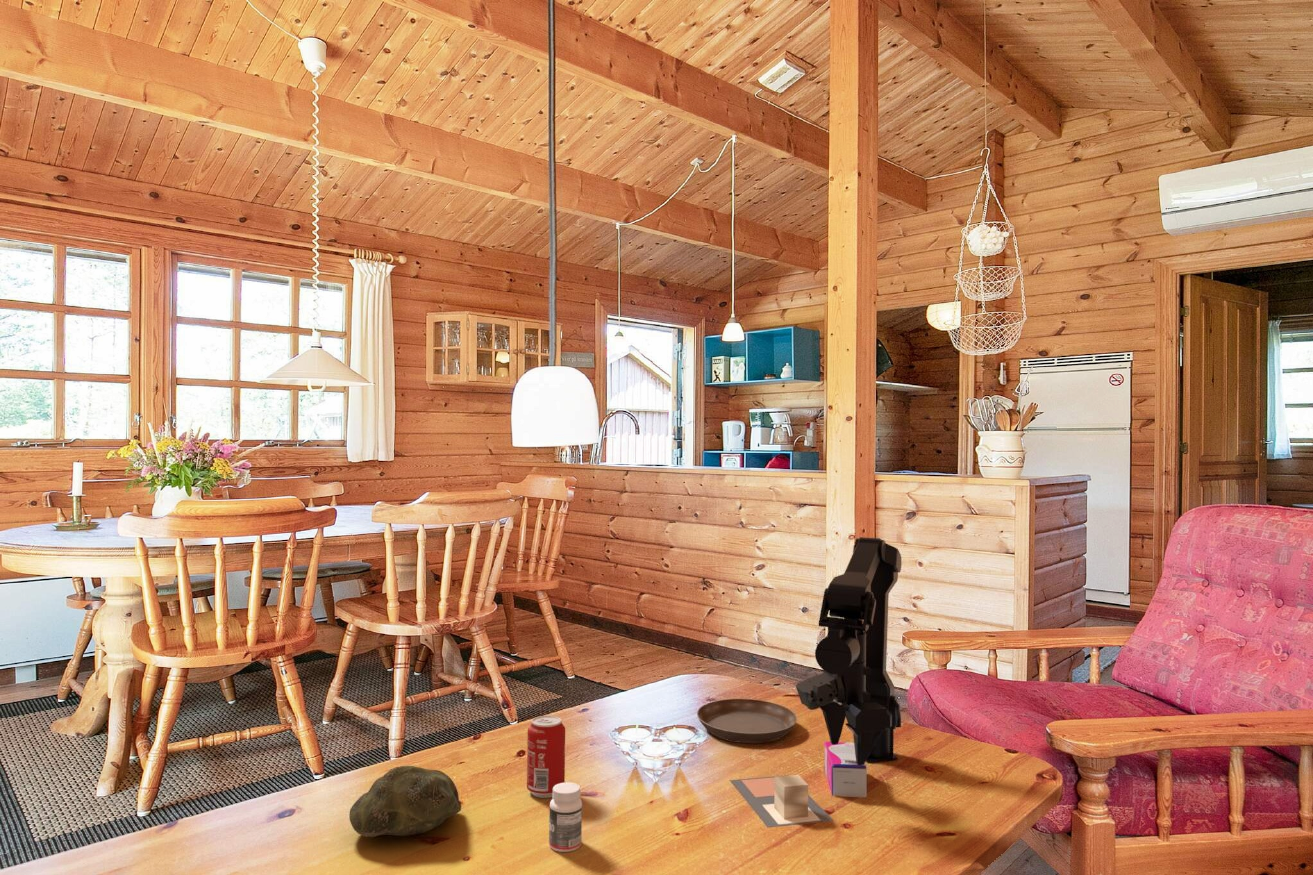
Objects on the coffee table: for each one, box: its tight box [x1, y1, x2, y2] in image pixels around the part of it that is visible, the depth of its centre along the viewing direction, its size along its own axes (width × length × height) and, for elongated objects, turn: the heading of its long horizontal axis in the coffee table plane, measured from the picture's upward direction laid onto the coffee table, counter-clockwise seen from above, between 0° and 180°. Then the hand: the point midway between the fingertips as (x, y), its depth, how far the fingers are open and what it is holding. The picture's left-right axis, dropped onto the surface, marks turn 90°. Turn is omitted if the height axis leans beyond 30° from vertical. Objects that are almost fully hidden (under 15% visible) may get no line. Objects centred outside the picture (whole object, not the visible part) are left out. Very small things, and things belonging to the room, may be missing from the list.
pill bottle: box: [548, 781, 583, 853], centre depth 119 cm, size 5×5×8 cm
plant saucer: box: [696, 698, 798, 744], centre depth 170 cm, size 21×21×3 cm
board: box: [729, 774, 835, 828], centre depth 134 cm, size 11×18×1 cm, turn 14°
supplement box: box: [824, 741, 868, 798], centre depth 141 cm, size 6×6×12 cm
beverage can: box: [526, 715, 566, 799], centre depth 137 cm, size 6×6×12 cm
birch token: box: [774, 774, 809, 819], centre depth 129 cm, size 4×4×5 cm
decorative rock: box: [349, 765, 462, 838], centre depth 123 cm, size 15×16×10 cm
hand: (847, 754), depth 135 cm, fingers open, 9 cm apart
